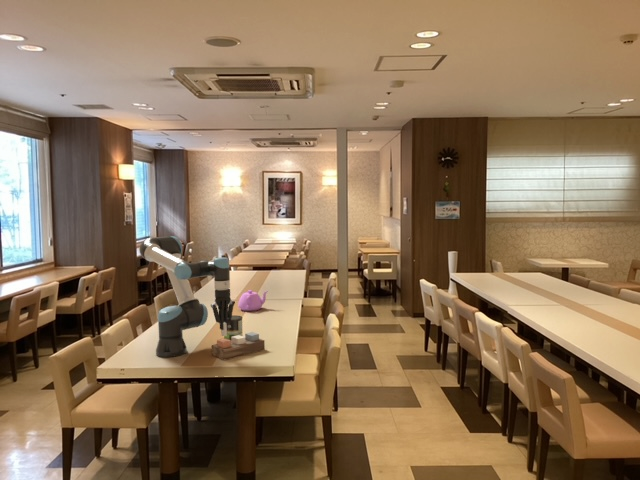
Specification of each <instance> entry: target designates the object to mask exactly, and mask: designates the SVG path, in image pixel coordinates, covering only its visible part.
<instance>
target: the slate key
mask: <svg viewBox="0 0 640 480" xmlns="http://www.w3.org/2000/svg"><path fill="white" fill-rule="evenodd" d="M244 337H245V339H246V340H249V341H256V340H259V339H260V334H259V333H256V332H253V331H251V332H247V333H244Z"/></svg>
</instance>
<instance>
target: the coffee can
mask: <svg viewBox="0 0 640 480" xmlns="http://www.w3.org/2000/svg"><path fill="white" fill-rule="evenodd" d="M237 335H240V336H243V337H244V334H243V316H242V315H233V314H232V318H231V321H229V323H228V329H227V336H223V339H224V338H225V339H228V340H231V337H232V336H237Z"/></svg>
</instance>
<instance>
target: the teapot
mask: <svg viewBox="0 0 640 480" xmlns="http://www.w3.org/2000/svg"><path fill="white" fill-rule="evenodd" d="M268 292H269V290H265V291H263V293H262V298H261V296H260V295H259V294H258V293H257V292H255V291H253V290H252V289H249V290H247V292H244V293H242V295H241V296H240V298H239V300H238V304H237V305H238V308H239V309H240V310H241V311H244V312H246V311H249V312H252V311H253V312H254V311H258V310H261V308H262V307H263V305H264V304H265V303H266V300H267V299H266V298H267V296H266V294H267V293H268Z"/></svg>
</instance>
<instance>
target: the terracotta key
mask: <svg viewBox="0 0 640 480" xmlns="http://www.w3.org/2000/svg"><path fill="white" fill-rule="evenodd" d="M216 344H217V346H219V347H221V348H227V347H231V340H228V339H225V338H224V337H223V338H220V339H217V340H216Z"/></svg>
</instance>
